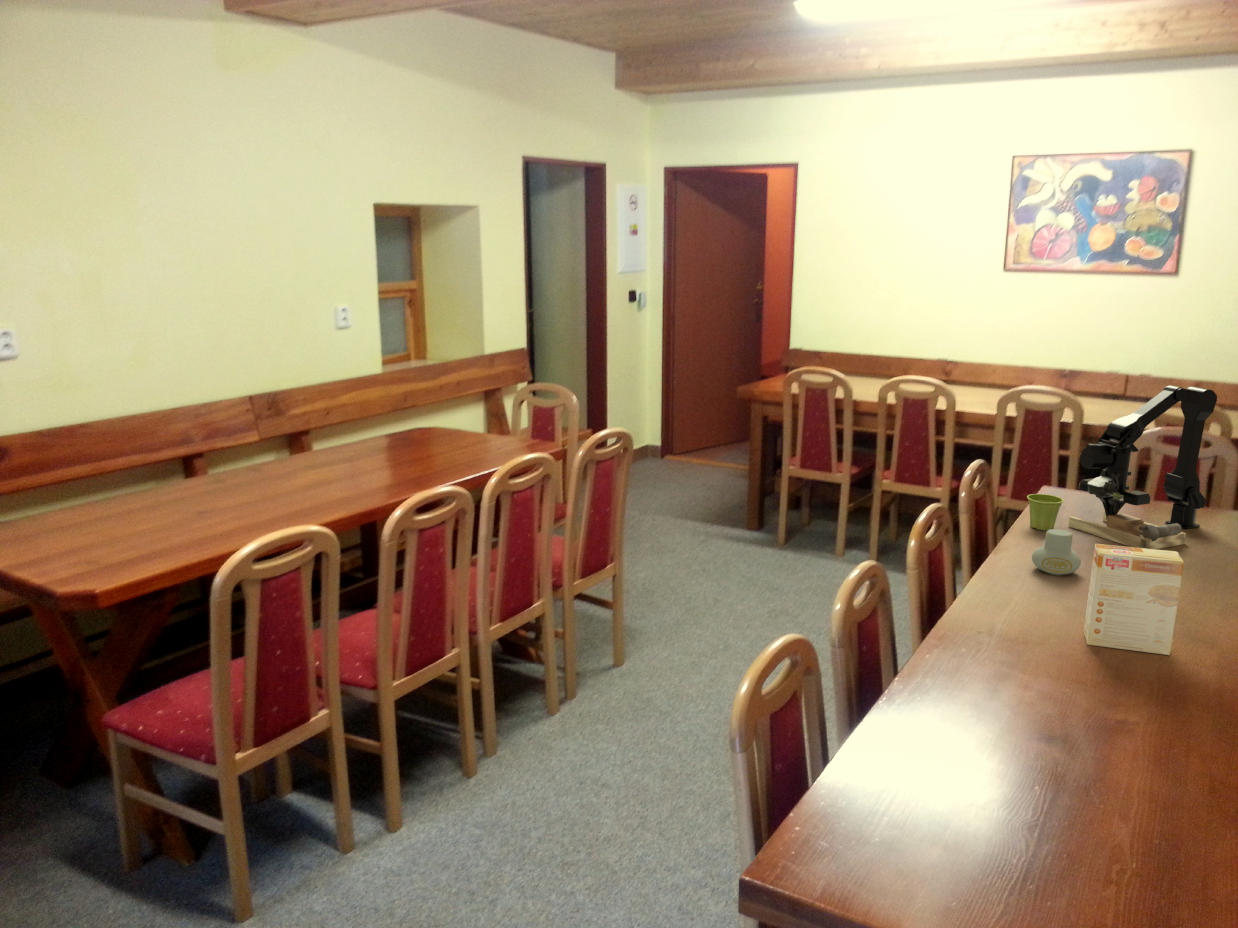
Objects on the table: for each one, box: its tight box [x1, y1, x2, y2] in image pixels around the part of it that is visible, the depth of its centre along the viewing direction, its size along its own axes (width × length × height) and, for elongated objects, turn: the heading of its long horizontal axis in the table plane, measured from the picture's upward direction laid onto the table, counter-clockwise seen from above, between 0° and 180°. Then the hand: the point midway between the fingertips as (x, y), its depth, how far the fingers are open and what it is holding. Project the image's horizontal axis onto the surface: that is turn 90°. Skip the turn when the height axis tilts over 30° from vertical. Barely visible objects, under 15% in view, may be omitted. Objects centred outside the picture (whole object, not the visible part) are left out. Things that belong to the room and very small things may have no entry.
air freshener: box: [1031, 528, 1082, 576], centre depth 233 cm, size 11×8×10 cm
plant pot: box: [1026, 493, 1065, 532], centre depth 269 cm, size 9×9×9 cm
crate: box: [1105, 513, 1145, 537], centre depth 264 cm, size 6×7×5 cm
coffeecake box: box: [1083, 543, 1185, 656], centre depth 190 cm, size 15×7×20 cm, turn 71°
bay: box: [1067, 511, 1187, 550], centre depth 263 cm, size 16×25×7 cm, turn 25°
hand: (1109, 521), depth 268 cm, fingers closed
